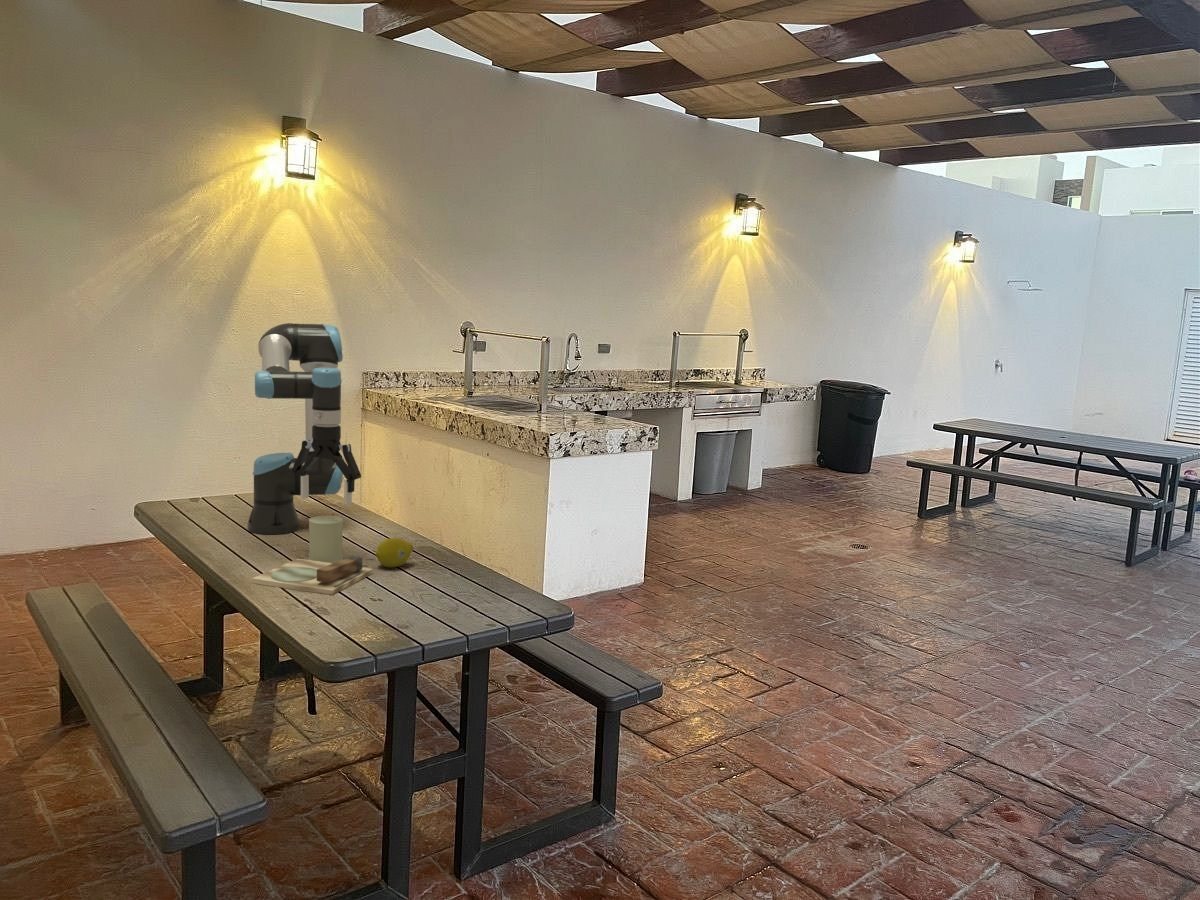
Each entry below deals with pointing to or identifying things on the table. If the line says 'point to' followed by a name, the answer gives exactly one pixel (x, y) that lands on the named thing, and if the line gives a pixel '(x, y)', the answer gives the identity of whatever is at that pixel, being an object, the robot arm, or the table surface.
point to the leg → (339, 569)
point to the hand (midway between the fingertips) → (326, 501)
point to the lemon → (393, 552)
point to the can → (325, 539)
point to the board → (308, 577)
